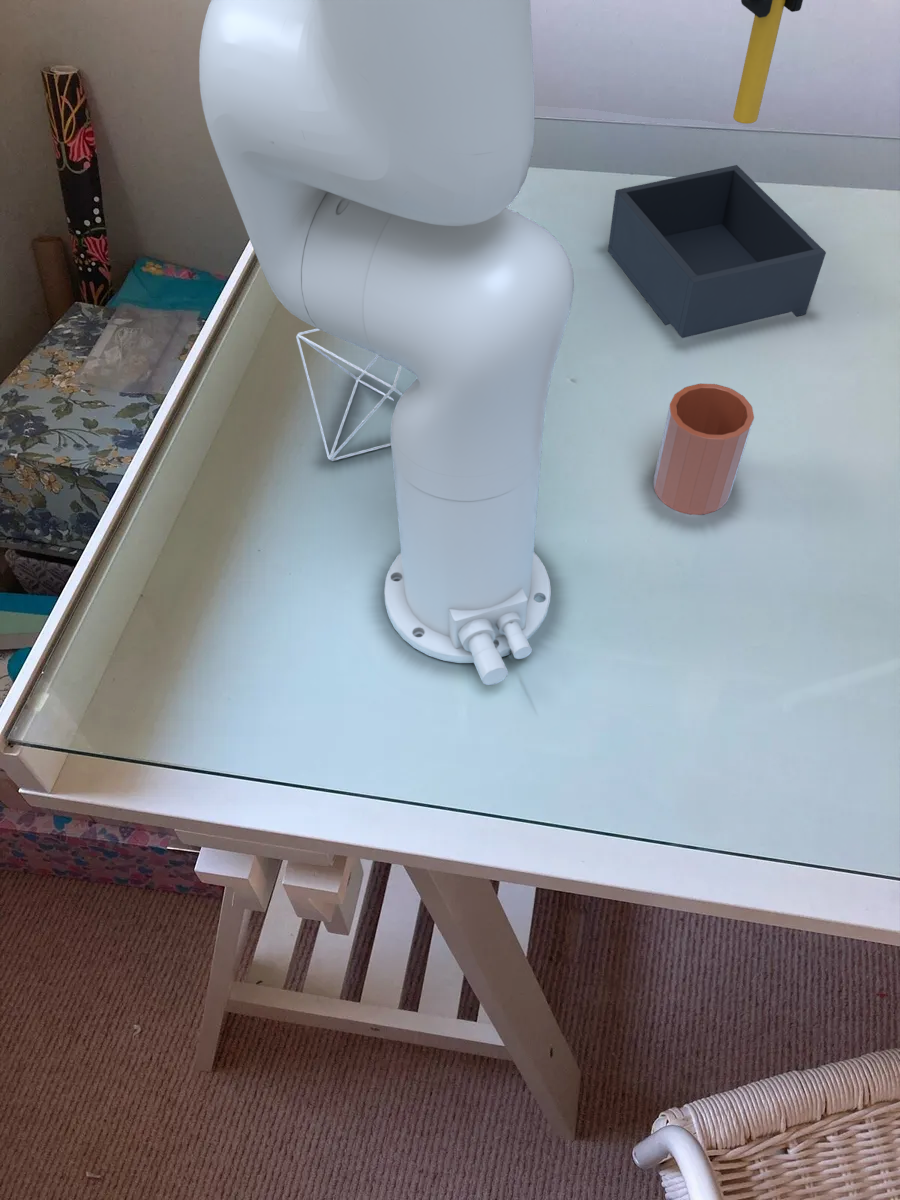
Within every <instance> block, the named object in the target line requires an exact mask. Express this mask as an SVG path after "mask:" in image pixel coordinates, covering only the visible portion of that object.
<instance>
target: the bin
mask: <svg viewBox="0 0 900 1200" xmlns="http://www.w3.org/2000/svg"><path fill="white" fill-rule="evenodd" d="M610 224H611V225H610V232H609V238H608V239H609V240H608V245H607V252H608V253H609V254H610V256H611V257H612V258H613V259H614V261H615V262H616V263H617V264H618V266H619V267H620V269H621V270H622V271H623V272H624V273H625V275H626V276H627V278H628V279H629V280H630V282H631V283H632V284H633V285H634V286H635V288H636V289H637V290H638V291H639V293H640V295H642V297H643V298H644V299H645V301H646V302H647V303H648V304H649V306H650V307H651V308H652V310H653V311H654V312H655V314H656V315H657V316H658V317H659V319H660V320H661V321H662V323H663V324H664V325H665V326H669V325H671V326H672V328H673V329H674V331H676V332H677V334H678V336H679V337H680V338H681V339H684V338H690V337H693V336H697V335H700V334H701V335H702V334H705V333H709V332H713V331H717V330H723V329H726V328H731V327H734V326H739V325H742V324H746V323H747V324H748V323H751V322H755V321H759V320H764V319H768V318H771V317H776V316H781V315H784V314H789V313H792V314H793V315H794V316H795V317H799V316H804V315H806V314H807V312H808V308H809V306H810V302H811V299H812V296H813V293H814V292H815V291H814V290H815V287H816V285H817V282H818V278H819V276H820V272H821V269H822V266H823V263H824V260H825V257H826V254H827V251H826V250H825V249H824V248H822V247H821V245H820V244H818V243H817V242H816V241H815V240H814V239H813V238H812V237H811V236H810V235H809V234H808V233H807V232H806V231H805V230H804V229H803V228H802V227H801V226H800V225H799V224H798V223H797V222H796V221H795V220H794V219H793V218H792V217H791V216H790V215H789V214H788V213H787V212H786V211H785V210H784V209H783V208H782V207H781V206H780V205H779V204H777V202H775V200H774V199H772V198H771V197H770V196H769V194H767V192H765V190H763V189H762V188H761V186H759V184H758V183H756V182H755V181H754V180H753V179H752V178H751V177H750V176H749V175H748V174H747V173H746V172H745V171H744V170H743V169H742V168H741V167H740V166H738V164H735V165H731V166H725V167H720V168H715V169H711V170H706V171H701V172H695V173H691V174H686V175H680V176H677V177H672V178H666V179H662V180H657V181H653V182H647V183H642V184H637V185H634V186H628V187H624V188H619V189H615V191H614V200H613V207H612V216H611V223H610Z"/></svg>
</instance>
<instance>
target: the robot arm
mask: <svg viewBox="0 0 900 1200" xmlns="http://www.w3.org/2000/svg"><path fill="white" fill-rule="evenodd" d="M772 1H773V0H740V2H741V5H742V6H743V7H744V8H746V9H747V10H748V11H750V12H751V13H752V14H754V16H755V15H756V16H757V17H759V18H761V17H766V16H767V15H768V14H769V13H770V10H771V5H772ZM803 1H804V0H785V4H784V8H786V9H787V10H789V11H790V12H791V13H794V12H799V11H801V9H802V6H803ZM532 30H533V29H532V6H531V0H210V2H209V5H208V6H207V10H206V13H205V17H204V21H203V25H202V29H201V36H200V43H199V53H198V69H199V70H198V81H199V82H198V84H199V90H200V91H199V92H200V99H201V106H202V111H203V115H204V120H205V123H206V126H207V130H208V133H209V136H210V139H211V142H212V146H213V147H214V151H215V154H216V157H217V159H218V161H219V164H220V167H221V169H222V171H223V174H224V177H225V180H226V182H227V184H228V187H229V189H230V192H231V195H232V197H233V200H234V202H235V205H236V208H237V211H238V213H239V215H240V218H241V220H242V223H243V225H244V228H245V231H246V233H247V236H248V238H249V241H250V243H251V247H252V248H253V252H254V254H255V256H256V259H257V261H258V263H259V266H260V268H261V271H262V273H263V275H264V278H265V279H266V282H267V284H268V285H269V287H270V289H271V291H272V293H273V294H274V296H275V297H276V298H277V300H278V301H279V302H280V303H281V305H282V306H283V307H284V308H285V309H286V310H287V311H288V312H289V313H290V314H292V316H294V317H296V318H297V319H299V320H300V321H302V322H304V323H305V324H307V325H310V327H311V326H312V327H313V328H314V329H320V330H319V331H322V332H324V333H326V334H327V335H331V336H333V337H336V338H337V339H339V340H343V341H344V342H347V343H350V344H352V345H355V346H356V347H358V348H359V347H360V348H361V349H364V350H365V351H368V352H371V353H373V354H376V355H377V354H378V355H379V357H380V358H382V359H384V360H387V361H389V362H391V363H394V364H396V365H398V366H399V365H400V366H402V368H404V369H405V370H407V371H409V372H410V373H411V374H413V375H414V376H415V377H416V379H415V380H414V381H412V382H411V384H410V385H409V386H408V387H407V388H406V389H405V390H404V392H402V393H403V395H402V396H401V395H400V397H399V399H398V400H397V402H396V405H395V407H394V410H393V413H392V416H391V422H390V443H391V446H390V448H391V456H392V465H393V466H392V467H393V478H394V487H395V488H394V489H395V497H396V499H395V500H396V510H397V521H398V522H397V523H398V531H399V532H398V533H399V543H400V544H399V545H400V553H398V555H397V556H396V558H395V559H394V560H393V562H392V563H391V565H390V566H389V569H388V570H387V574H386V577H385V582H384V590H383V594H384V605H385V608H386V612H387V616H388V617H387V618H388V619H389V621H390V623H391V625H392V626H393V628H394V630H395V631H396V632H397V633H398V635H399V636H400V637H401V639H402V640H404V641H405V642H406V643H407V644H408V645H410V646H411V647H412V648H414V649H415V650H417V651H419V652H421V653H423V654H424V655H426V656H429V657H431V658H435V659H437V660H440V661H443V662H449V663H456V664H474V666H475V668H476V671H477V673H478V675H479V676H478V677H479V678H480V680H481V683H482V684H484V685H485V686H493V685H497V684H499V683H501V682H502V681H504V680H505V679H506V678H507V677H508V675H509V671H508V669H507V667H506V664H505V662H504V660H503V657H506V656H509V655H510V654H511V653H512V655H513V657H514V659H515V660H523V659H525V658H527V657H528V656H530V655H531V654H532V651H533V649H532V646H531V645H530V643H529V639H530V638H531V637H532V636H533V635H534V634H535V633H536V632H537V631H538V629H540V627H541V625H542V624H543V622H544V621H545V618H546V616H547V615H548V612H549V608H550V604H551V595H552V587H551V580H550V576H549V573H548V571H547V568H546V566H545V564H544V563H543V561H542V560H541V557H539V555H538V554H537V553H536V552H535V541H536V540H535V538H536V527H537V526H536V525H537V517H538V515H537V514H538V502H539V490H540V479H541V477H540V476H541V464H542V453H543V452H542V449H543V438H544V426H545V419H546V418H545V416H546V410H547V409H546V407H547V403H548V396H549V390H550V387H551V381H552V376H553V372H554V369H555V365H556V362H557V358H558V354H559V351H560V347H561V345H562V341H563V337H564V335H565V331H566V328H567V325H568V321H569V318H570V313H571V309H572V304H573V299H574V290H575V277H574V270H573V266H572V262H571V260H570V257H569V255H568V253H567V251H566V250H565V248H564V247H563V245H562V244H561V242H560V241H558V239H557V238H556V237H555V236H554V235H553V234H552V233H551V232H550V231H548V230H547V229H546V228H545V227H543V226H542V225H541V224H539V223H537V222H536V221H534V220H532V219H531V218H529V217H527V216H525V215H523V214H521V213H519V212H517V211H515V210H512V209H510V208H508V207H509V206H510V205H511V204H512V202H513V201H514V200H515V199H516V197H517V196H518V194H519V192H520V190H521V189H522V187H523V185H524V184H525V181H526V179H527V176H528V172H529V169H530V164H531V160H532V156H533V151H534V144H535V119H536V118H535V113H536V109H535V108H536V106H535V105H536V104H535V103H536V102H535V99H536V98H535V71H534V50H533V31H532ZM538 597H541V598H542V599H544V600H543V601H537V600H535V599H536V598H538ZM510 651H511V652H510Z"/></svg>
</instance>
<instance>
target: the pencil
mask: <svg viewBox="0 0 900 1200" xmlns="http://www.w3.org/2000/svg"><path fill="white" fill-rule="evenodd" d="M784 4H785V0H773V1H772V5H771V10H770V13H769V14H768V15H767V16H766V17H761V18H759V17H757V16H756V15H755V14H754V16H753V21H752V25H751V31H750V35H749V41H748V45H747V49H746V53H745V59H744V63H743V68H742V72H741V77H740V82H739V87H738V92H737V96H736V101H735V105H734V110H733V115H732V118H733V120H734V121H735V122H737V123H740V124H744V125H745V124H747V125H748V124H754V123H755V122H757V121H758V119H759V115H760V110H761V106H762V103H763V99H764V98H763V97H764V93H765V90H766V89H765V88H766V84H767V80H768V76H769V73H770V68H771V64H772V59H773V55H774V50H775V46H776V43H777V37H778V34H779V30H780V25H781V21H782V16H783V13H784V8H785V7H784Z"/></svg>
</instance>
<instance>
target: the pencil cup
mask: <svg viewBox="0 0 900 1200" xmlns="http://www.w3.org/2000/svg"><path fill="white" fill-rule="evenodd" d="M666 415H667V416H666V420H665V425H664V428H663V434H662V438H661V441H660V447H659V452H658V456H657V462H656V465H655V471H654V476H653V489H654V493H655V494H656V496H657V498H658V499H659V500H660V501H661V502H662V504H664V505H665V506H666V507H668V508H670V509H671V510H674V511H676V512H679V513H682V514H685V515H693V516H701V515H708V514H712V513H714V512H716V511H719V510H720V509H722V508H723V507H724V506H725V505H726V504H727V503H728V501H729V498H730V496H731V494H732V491H733V490H732V489H733V488H734V484H735V481H736V478H737V474H738V472H739V469H740V465H741V461H742V458H743V456H744V453H745V448H746V446H747V442H748V440H749V436H750V433H751V430H752V427H753V423H754V419H755V414H754V408H753V405H752V404H751V403H750V402H749V401H748V399H747V398H746V397H745V396H744V395H743V394H741V393H740V392H738V391H736V390H735V389H733V388H731V387H728V386H724V385H720V384H717V383H696V384H692V385H688V386H685V387H683V388H682V389H680V390H679V391H677V392H676V393H674V395H673V397H672V398H671V400H670V402H669V406H668V409H667V413H666Z"/></svg>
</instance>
